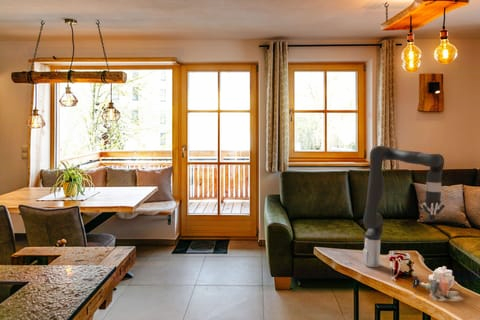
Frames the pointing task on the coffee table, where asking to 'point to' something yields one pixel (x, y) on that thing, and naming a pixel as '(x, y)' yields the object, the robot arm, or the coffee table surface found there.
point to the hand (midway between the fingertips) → (431, 221)
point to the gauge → (438, 294)
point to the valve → (417, 283)
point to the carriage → (444, 287)
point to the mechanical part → (442, 275)
